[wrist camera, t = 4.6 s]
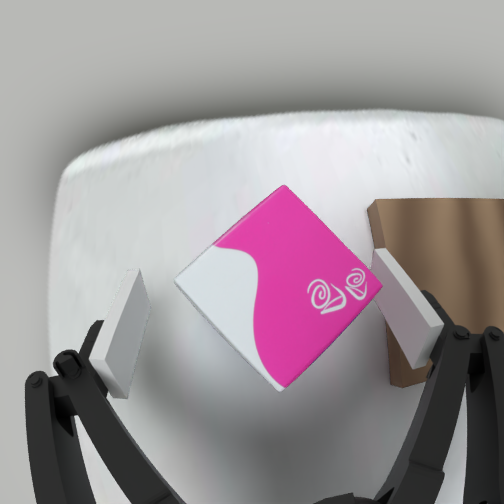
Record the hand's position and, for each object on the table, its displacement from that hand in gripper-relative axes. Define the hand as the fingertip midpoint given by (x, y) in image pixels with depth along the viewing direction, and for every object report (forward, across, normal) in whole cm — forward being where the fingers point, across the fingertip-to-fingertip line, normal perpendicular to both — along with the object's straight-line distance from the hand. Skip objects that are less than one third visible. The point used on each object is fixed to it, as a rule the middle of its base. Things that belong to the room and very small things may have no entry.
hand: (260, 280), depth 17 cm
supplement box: (+3, 0, -5) cm, 6 cm away
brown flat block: (+3, +18, -5) cm, 19 cm away
